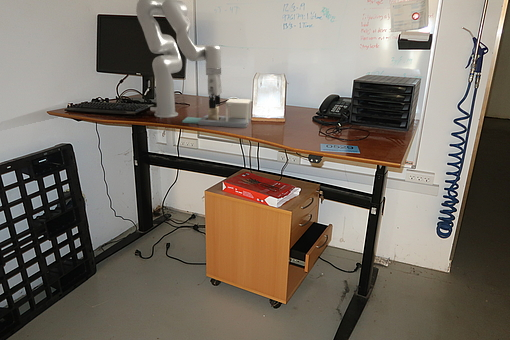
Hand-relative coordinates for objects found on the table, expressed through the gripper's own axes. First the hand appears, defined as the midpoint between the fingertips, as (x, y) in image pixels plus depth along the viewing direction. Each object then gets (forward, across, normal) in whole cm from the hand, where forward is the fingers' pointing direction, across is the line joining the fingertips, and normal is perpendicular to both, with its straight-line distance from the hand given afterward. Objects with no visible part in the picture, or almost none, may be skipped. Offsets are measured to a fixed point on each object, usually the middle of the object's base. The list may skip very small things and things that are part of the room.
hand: (214, 106), depth 193 cm
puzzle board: (+9, 0, -5) cm, 10 cm away
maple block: (+8, 0, +1) cm, 9 cm away
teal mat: (+8, 0, +12) cm, 14 cm away
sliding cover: (+7, 0, -12) cm, 14 cm away
